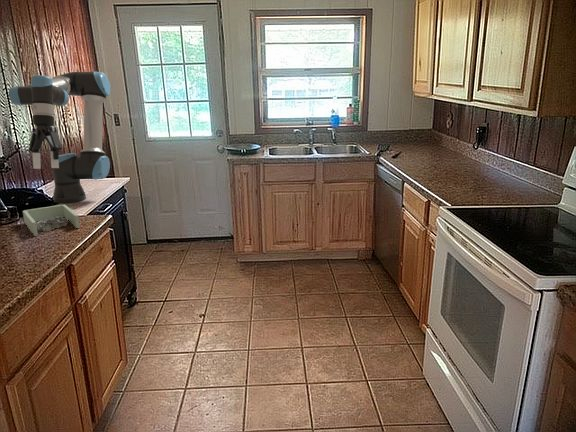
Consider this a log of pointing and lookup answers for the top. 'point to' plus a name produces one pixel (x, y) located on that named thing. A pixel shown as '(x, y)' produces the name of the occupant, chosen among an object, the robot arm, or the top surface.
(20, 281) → the top surface
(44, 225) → the egg carton
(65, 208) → the u-shaped frame
